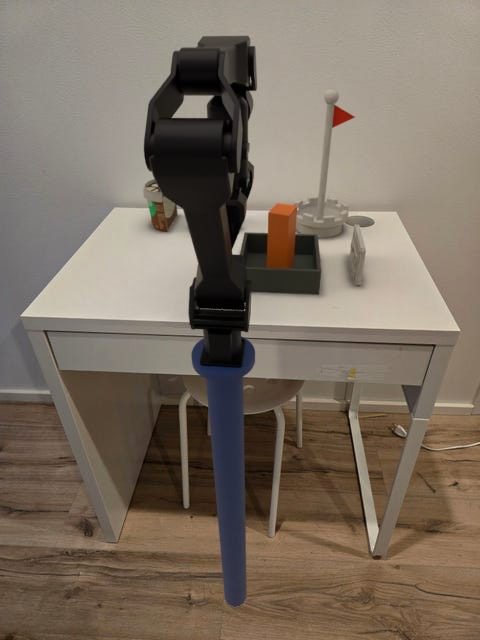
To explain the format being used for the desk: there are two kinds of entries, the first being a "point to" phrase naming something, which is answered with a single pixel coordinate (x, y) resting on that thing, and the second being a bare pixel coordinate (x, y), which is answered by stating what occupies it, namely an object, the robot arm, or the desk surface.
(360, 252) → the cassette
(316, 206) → the flag stand
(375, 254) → the desk surface
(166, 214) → the food container
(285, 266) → the block
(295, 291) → the open storage bin
